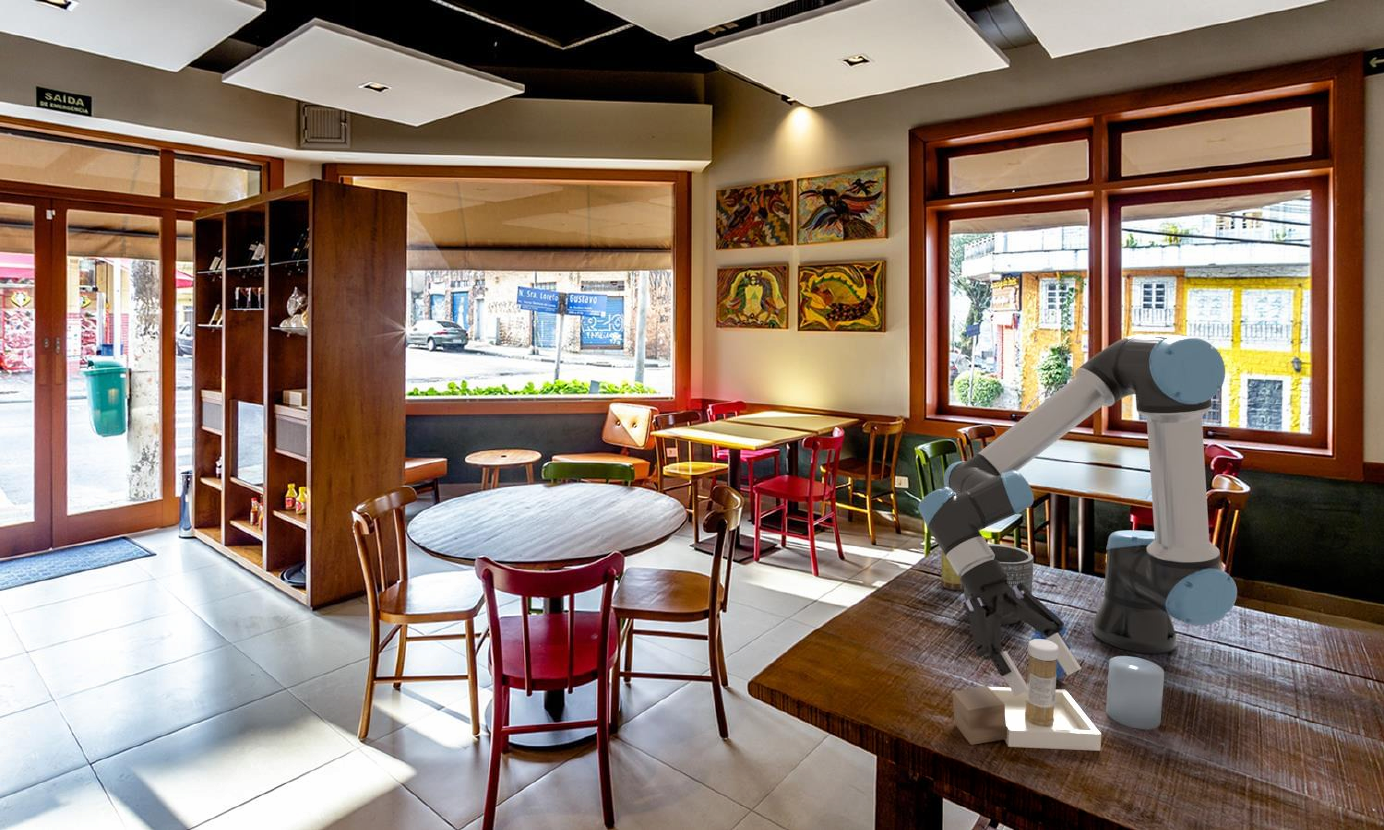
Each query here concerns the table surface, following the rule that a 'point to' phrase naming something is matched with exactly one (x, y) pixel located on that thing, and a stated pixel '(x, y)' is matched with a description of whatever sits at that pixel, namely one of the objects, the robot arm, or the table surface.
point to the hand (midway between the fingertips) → (1049, 682)
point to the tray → (1061, 734)
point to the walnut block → (979, 715)
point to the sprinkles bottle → (1041, 681)
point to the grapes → (1039, 635)
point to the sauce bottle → (950, 576)
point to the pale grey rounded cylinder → (1135, 692)
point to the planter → (1013, 570)
